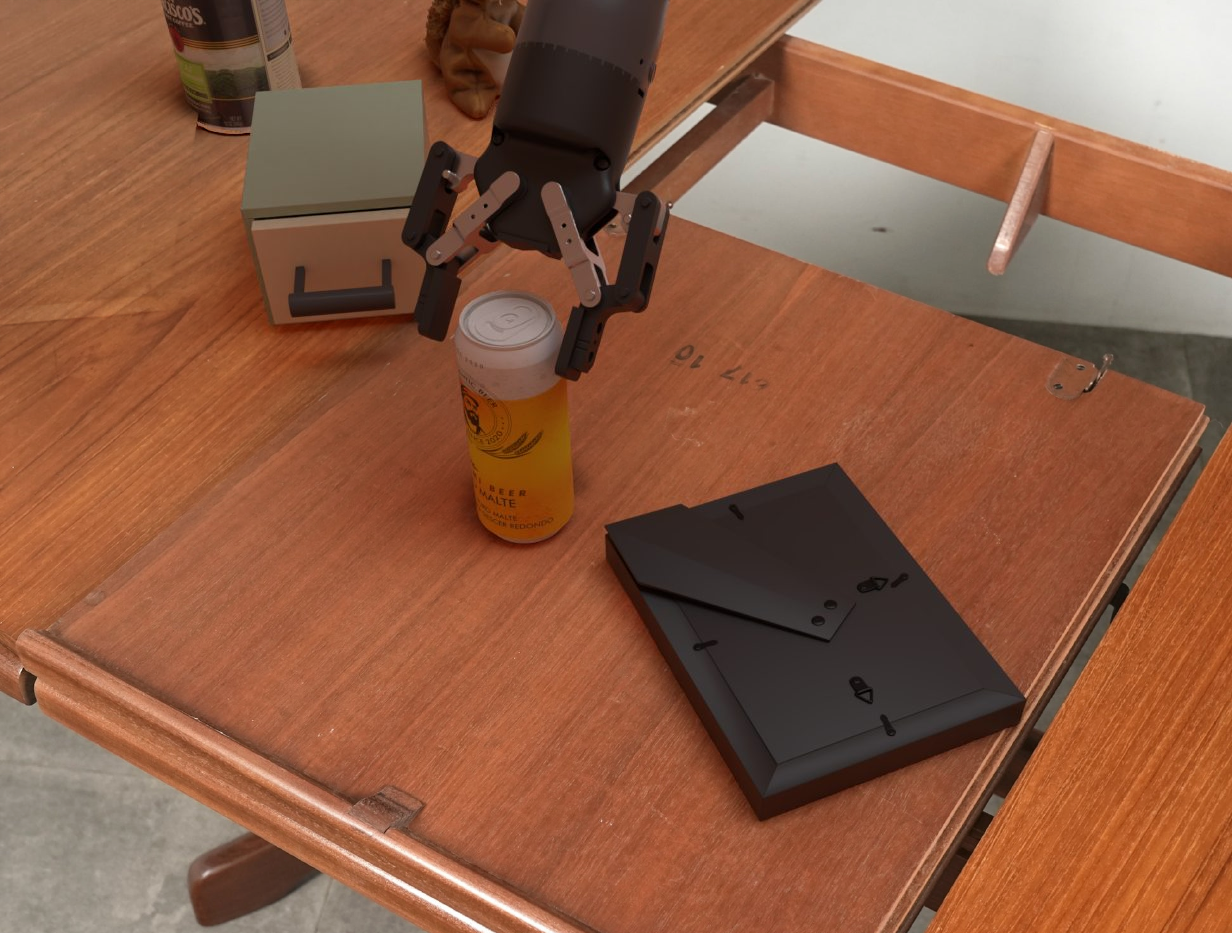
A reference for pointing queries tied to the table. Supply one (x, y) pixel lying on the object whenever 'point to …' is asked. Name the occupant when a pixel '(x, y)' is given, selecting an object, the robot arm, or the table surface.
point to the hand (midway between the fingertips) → (497, 358)
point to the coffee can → (231, 55)
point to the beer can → (516, 414)
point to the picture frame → (807, 637)
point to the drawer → (338, 264)
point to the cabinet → (333, 153)
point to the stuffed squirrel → (473, 48)
